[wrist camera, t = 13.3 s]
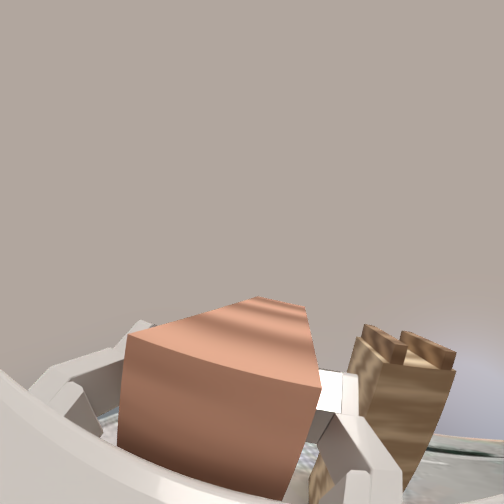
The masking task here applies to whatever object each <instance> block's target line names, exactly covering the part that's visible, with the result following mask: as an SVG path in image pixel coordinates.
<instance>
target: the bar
mask: <svg viewBox="0 0 504 504" xmlns="http://www.w3.org/2000/svg"><path fill="white" fill-rule="evenodd" d="M322 389H323V388H322V383H321V378H320V373H319V369H318V364H317V359H316V355H315V351H314V346H313V341H312V337H311V332H310V328H309V323H308V319H307V315H306V311H305V307H303V306H299V305H294V304H290V303H285V302H280V301H276V300H272V299H267V298H263V297H254V298H251V299H248V300H245V301H242V302H238V303H235V304H232V305H228V306H225V307H222V308H218V309H215V310H212V311H209V312H205V313H201V314H198V315H195V316H191V317H188V318H184V319H181V320H177V321H174V322H170V323H166V324H163V325H159V326H156V327H152V328H148V329H144V330H141V331H137V332H133V333H129V334H127V341H126V348H125V356H124V364H123V372H122V381H121V391H120V403H119V416H118V432H117V446H118V447H120V448H122V449H124V450H126V451H128V452H130V453H132V454H134V455H136V456H138V457H141V458H143V459H145V460H147V461H150V462H152V463H154V464H157V465H159V466H162V467H164V468H167V469H169V470H172V471H174V472H177V473H180V474H182V475H185V476H188V477H191V478H194V479H197V480H200V481H203V482H206V483H209V484H212V485H216V486H219V487H223V488H226V489H230V490H234V491H238V492H241V493H246V494H250V495H254V496H259V497H263V498H268V499H273V500H279V501H282V499H283V497H284V495H285V492H286V490H287V487H288V485H289V483H290V480H291V478H292V475H293V473H294V470H295V468H296V465H297V462H298V460H299V457H300V454H301V452H302V449H303V446H304V444H305V441H306V438H307V435H308V432H309V429H310V426H311V423H312V420H313V417H314V414H315V411H316V408H317V405H318V402H319V399H320V396H321V392H322Z"/></svg>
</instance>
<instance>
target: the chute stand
mask: <svg viewBox="0 0 504 504" xmlns="http://www.w3.org/2000/svg"><path fill="white" fill-rule="evenodd" d="M455 356H456V352H455V351H452V350H450V349H448V348H445V347H443V346H441V345H439V344H436V343H434V342H432V341H430V340H427V339H425V338H423V337H421V336H418V335H416V334H414V333H412V332H407V331H402V332H401V336H400V340H397V339H396V338H394V337H392V336H390V335H389V334H387V333H385V332H384V331H382V330H380V329H378V328H377V327H375V326H372V325H367V324H364V327H363V331H362V336H361V337H356V341H355V345H354V348H353V352H352V356H351V359H350V363H349V366H348V370H347V373H351V374H357V375H358V383H359V416H362V417H364V418H365V420H366V421H367V423H368V424H369V425H370V427H371V428H372V430H373V431H374V432H375V434H376V435H377V437H378V438H379V439H380V441H381V442H382V444H383V445H384V446H385V448H386V449H387V451H388V452H389V453H390V455H391V456H392V458H393V459H394V460H395V462H396V463H397V465H398V466H399V467H400V469H401V470H402V487H403V492H404V490H405V488H406V487H407V485H408V483H409V481H410V480H411V478H412V476H413V474H414V472H415V470H416V468H417V467H418V465H419V463H420V461H421V459H422V457H423V455H424V453H425V450H426V448H427V446H428V444H429V442H430V440H431V437H432V435H433V433H434V431H435V428H436V426H437V423H438V421H439V419H440V416H441V413H442V411H443V408H444V406H445V403H446V400H447V398H448V395H449V392H450V389H451V386H452V383H453V380H454V377H455V374H456V371H455V370H454V369H452V367H453V363H454V360H455ZM334 486H335V485H334V482H333V480H332V478H331V476H330V474H329V471H328V469H327V467H326V465H325V463H324V461H323V458H322V456H321V454H320V453H319V455H318V458H317V460H316V463H315V465H314V468H313V470H312V472H311V475H310V477H309V504H318V503H319V500H320V499H321V498H322V497H323V496H324V495H325V494H326V493H327V492H328V491H330V490H331V489H332V488H333V487H334Z"/></svg>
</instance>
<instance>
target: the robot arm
mask: <svg viewBox="0 0 504 504" xmlns="http://www.w3.org/2000/svg"><path fill="white" fill-rule="evenodd" d="M156 326H157V325H155V324H151V323H148V322H145V321H143V320H140V321H138V322H137V323H136V324H135V325H134V326H133V327H132V328H131V329H130V330H129V331H128V333H127V334H129V333H133V332H137V331H141V330H144V329H148V328H152V327H156ZM127 334H126V335H125V336H124V337H123V338H122V339H121V340H120V341H119V343H118V344H117V345H116V346H115V347H114V348H110V347H109V348H106V349H103V350H100V351H97V352H94V353H91V354H88V355H85V356H82V357H79V358H76V359H73V360H70V361H66V362H63V363H60V364H57V365H54V366H51V367H49V368H48V369H47V370H46V371H45V373H44V374H43V375H42V376H41V377H40V378H39V379H38V380H37V381H36V382H35V383H34V384H33V385H32V386H31V387H30V388H29V389H28V390H26V389H24V388H23V387H22V386H21V385H19V384H18V383H17V382H16V381H14V380H13V379H12V378H11V377H10V376H8V375H7V374H6V373H5V372H4V371H3V370H1V369H0V504H290V503H284V502H278V501H273V500H268V499H263V498H258V497H254V496H250V495H245V494H241V493H237V492H233V491H230V490H226V489H223V488H219V487H216V486H212V485H209V484H206V483H203V482H200V481H197V480H194V479H191V478H188V477H185V476H182V475H180V474H177V473H174V472H172V471H169V470H167V469H164V468H162V467H159V466H157V465H155V464H152V463H150V462H148V461H145V460H143V459H141V458H139V457H136V456H134V455H132V454H130V453H128V452H126V451H124V450H122V449H120V448H118V447H116V446H114V445H112V444H110V443H108V442H106V441H104V440H103V439H101V438H100V437H101V435H102V434H103V429H102V427H101V425H100V423H99V421H98V419H97V417H98V416H100V415H102V414H104V413H106V412H108V411H110V410H112V409H114V408H116V407H117V406H119V403H120V391H121V381H122V372H123V364H124V356H125V348H126V341H127ZM318 369H319V373H320V378H321V383H322V388H323V389H322V392H321V396H320V399H319V402H318V405H317V408H316V411H315V414H314V417H313V420H312V423H311V426H310V429H309V432H308V435H307V438H306V441H305V442H309V443H314V444H317V447H318V450H319V452H320V454H321V456H322V458H323V461H324V463H325V465H326V467H327V469H328V471H329V474H330V476H331V478H332V480H333V482H334V485H335V486H334V487H333V488H332V489H331V490H330V491H328V492H327V493H326V494H325V495H324V496H323V497H322V498H321V499H320V500H319V503H318V504H402V498H403V487H402V470H401V469H400V467H399V466H398V465H397V463H396V462H395V460H394V459H393V458H392V456H391V455H390V453H389V452H388V451H387V449H386V448H385V446H384V445H383V444H382V442H381V441H380V439H379V438H378V437H377V435H376V434H375V432H374V431H373V430H372V428H371V427H370V425H369V424H368V423H367V421H366V420H365V418H364V417H362V416H359V383H358V375H357V374H351V373H345V372H338V371H333V370H327V369H321V368H318ZM458 504H504V493H503V494H499V495H495V496H492V497H487V498H483V499H479V500H474V501H469V502H464V503H458Z"/></svg>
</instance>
